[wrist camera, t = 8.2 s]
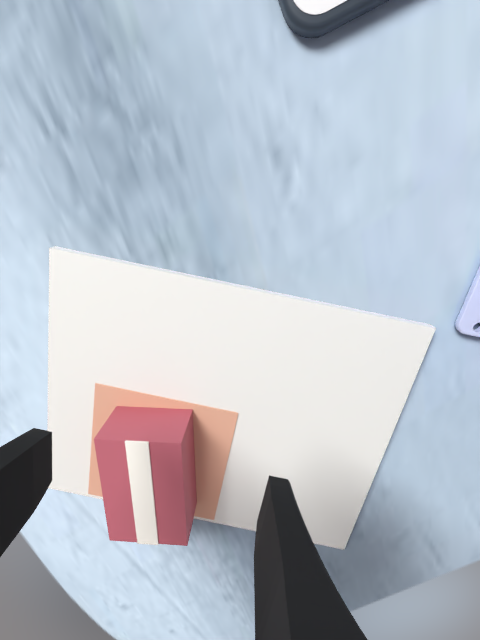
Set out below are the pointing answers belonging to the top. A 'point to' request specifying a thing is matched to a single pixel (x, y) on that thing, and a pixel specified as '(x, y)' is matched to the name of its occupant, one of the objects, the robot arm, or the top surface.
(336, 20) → the smartphone
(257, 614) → the robot arm
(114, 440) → the card box
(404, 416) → the top surface
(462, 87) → the top surface
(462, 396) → the top surface
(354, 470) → the mat
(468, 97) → the top surface
